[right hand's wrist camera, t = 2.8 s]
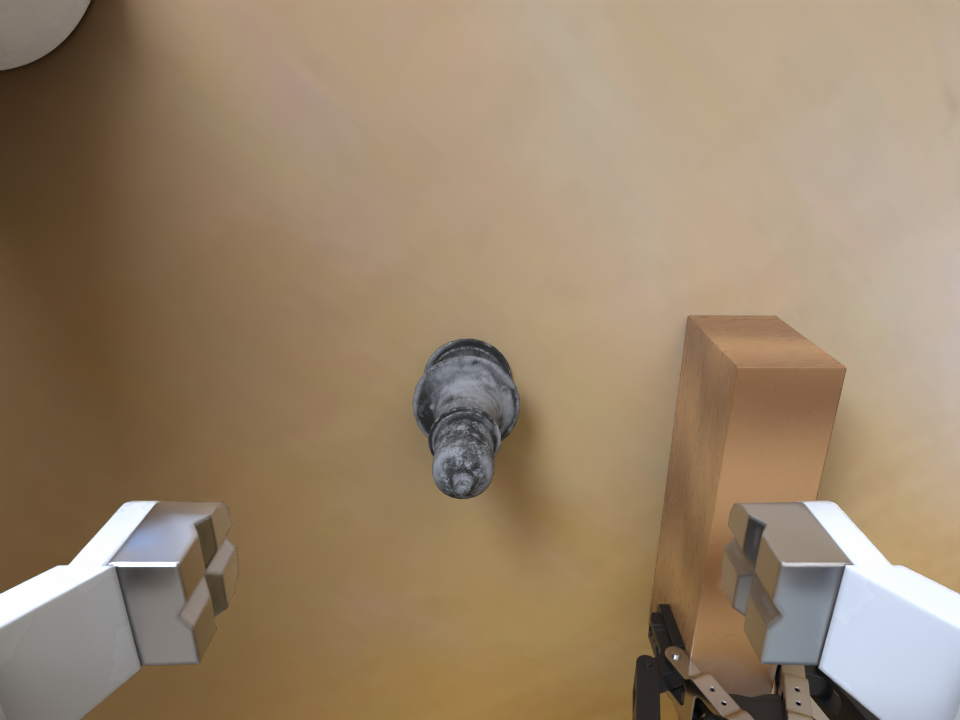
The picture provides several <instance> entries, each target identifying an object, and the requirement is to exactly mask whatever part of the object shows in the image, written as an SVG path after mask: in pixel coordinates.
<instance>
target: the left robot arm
mask: <svg viewBox="0 0 960 720" xmlns="http://www.w3.org/2000/svg"><path fill="white" fill-rule="evenodd" d="M648 637H649V640H650V642H651V646H652V649H653V653H654V656H655V658H653V657H651V656H648V655H642V656H640V657H638V658H637V662H636V669H635V677H634V685H633V716H632V720H660V693H663V692H666V694H667V695H668V696H669V698H670V699H671V700H672V702H673V703H674V704H675V705H676V707H677V708H678V709H679V711H680V713H681V717H682V720H815V719H814V718H813V717H812V711H811V701H810V696H811V697H812V699H813V700H814V701H815V702H816V703H817V705H818V706H819V707H820V708H821V710H822V711H823V712H824V713H825V714H826V716H827V717H828V718H829V719H830V720H880V719H879V718H877V717H876V716H875V715H874V714H873V713H871V712H870V711H869V710H868V709H867V708H865V707H864V706H863V705H862V704H861V703H859V702H858V701H857V700H856V699H855V698H853V697H852V696H851V695H850V694H849V693H847V692H846V691H845V690H844V689H843V688H841V687H840V686H839V685H838V684H837V683H836V682H834V681H833V680H832V679H831V678H830V677H828V676H827V675H826V674H825V673H824V672H822V671H821V670H820V669H819V666H812V665H778V666H777V671H776V675H775V679H774V694H764V695H760V696H756V697H747V696H742V695H737V694H728V693H727V692H726V691H725V690H724V689H723V687H722V686H721V685H720V684H719V683H718V682H717V681H716V679H715V678H714V677H713V676H712V675H711V674H710V673H709V672H705V673H703V672H702V671H701V670H700V669H699V668H698V667H697V665H696V664H695V663H694V662H693V661H692V660H691V658H690V657H689V656H688V655H687V654H686V653H685V651H684V650H685V644H684V642H683V639H682V636H681V634H680V631H679V628H678V626H677V623H676V620H675V618H674V615H673V612H672V610H671V607H670V605H669V604H658V605H657V610H656V612H652V613H651V618H650V625H649V633H648ZM834 691H835V692H836V693H837V694H838V695H837V694H836V693H835V692H834Z"/></svg>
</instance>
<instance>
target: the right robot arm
mask: <svg viewBox="0 0 960 720" xmlns="http://www.w3.org/2000/svg"><path fill="white" fill-rule="evenodd" d="M90 1H91V0H0V70H7V69H12V68H16V67H19V66H23V65H26V64H28V63H31V62H33V61H35V60H37V59H39V58H41V57H43V56H45V55H46V54H48V53H49V52H51V51H52V50H53V49H55V48H56V47H57V46H58V45H60V44H61V43H62V42H63V41H64V40H65V39H66V38H67V37H68V36H69V35H70V33H71V32H72V31H73V30H74V29H75V27H76V26H77V24H78V23H79V22H80V20H81V18H82V17H83V15H84V13H85V12H86V10H87V8H88V6H89V3H90ZM231 526H232V521H231V516H230V511H229V507H228V506H227V505H226V504H225V503H223V502H190V501H162V502H161V501H130V502H127V503H124V504H123V505H122V506H121V507H120V508H119V509H118V511H117V512H116V513H115V514H114V515H113V516H112V517H111V518H110V519H109V521H108V522H107V523H106V524H105V525H104V526H103V527H102V528H101V529H100V531H99V532H98V533H97V534H96V535H95V536H94V537H93V538H92V539H91V541H90V542H89V543H88V544H87V545H86V546H85V547H84V548H83V549H82V551H81V552H80V553H79V554H78V555H77V556H76V557H75V558H74V559H73V561H72V562H71V563H70V564H69V565H58V566H56V567H54V568H52V569H50V570H48V571H46V572H44V573H42V574H40V575H38V576H36V577H33V578H31V579H29V580H27V581H25V582H23V583H21V584H19V585H17V586H15V587H13V588H11V589H9V590H7V591H5V592H3V593H1V594H0V720H80V719H82V718H83V717H84V716H85V715H86V714H88V713H89V712H90V711H91V710H92V709H94V708H95V707H96V706H97V705H98V704H100V703H101V702H102V701H103V700H104V699H106V698H107V697H108V696H109V695H110V694H112V693H113V692H114V691H115V690H116V689H118V688H119V687H120V686H121V685H122V684H124V683H125V682H126V681H127V680H128V679H130V678H131V677H132V676H133V675H134V674H136V673H137V672H138V671H139V670H140V669H141V666H148V665H182V664H200V662H201V660H202V658H203V656H204V654H205V652H206V650H207V648H208V646H209V644H210V642H211V640H212V638H213V636H214V634H215V632H216V630H217V628H216V623H215V616H217V615H218V614H219V613H221V612H222V611H224V610H225V609H226V608H228V606H229V604H230V602H231V600H232V597H233V595H234V593H235V588H236V584H237V579H238V555H237V549H236V547H235V546H234V545H233V544H232V543H231V542H230V541H229V540H228V539H227V538H226V535H227V533H228V532H229V530H230V528H231ZM728 526H729V528H730V530H731V531H732V533H733V535H734V538H733V539H732V540H731V541H730V542H729V543H728V544H727V545H726V546H725V547H724V549H723V556H722V564H721V567H722V579H723V585H724V589H725V592H726V595H727V598H728V600H729V602H730V604H731V606H732V608H734V609H735V610H736V611H738V612H739V613H741V614H742V615H744V616H745V623H744V628H743V630H744V632H745V634H746V636H747V638H748V640H749V642H750V644H751V646H752V648H753V650H754V652H755V654H756V656H757V657H758V659H759V661H760V663H761V664H776V665H812V666H819V669H820V670H821V671H822V672H824V673H825V674H826V675H827V676H828V677H830V678H831V679H832V680H833V681H834V682H836V683H837V684H838V685H839V686H840V687H841V688H843V689H844V690H845V691H846V692H847V693H849V694H850V695H851V696H852V697H853V698H855V699H856V700H857V701H858V702H859V703H861V704H862V705H863V706H864V707H865V708H867V709H868V710H869V711H870V712H871V713H873V714H874V715H875V716H876V717H877V718H879V719H880V720H960V594H959V593H957V592H955V591H953V590H951V589H949V588H947V587H945V586H943V585H941V584H939V583H937V582H935V581H933V580H930V579H928V578H926V577H924V576H922V575H920V574H918V573H916V572H914V571H912V570H910V569H908V568H906V567H904V566H902V565H891V564H890V563H889V562H888V561H887V559H886V558H885V557H884V556H883V555H882V554H881V553H880V552H879V551H878V549H877V548H876V547H875V546H874V545H873V544H872V543H871V542H870V541H869V539H868V538H867V537H866V536H865V535H864V534H863V533H862V532H861V531H860V529H859V528H858V527H857V526H856V525H855V524H854V523H853V522H852V521H851V519H850V518H849V517H848V516H847V515H846V514H845V513H844V512H843V511H842V509H841V508H840V507H839V506H838V505H837V504H836V503H833V502H831V501H829V500H824V501H797V502H767V503H734V505H733V507H732V509H731V511H730V515H729V520H728Z"/></svg>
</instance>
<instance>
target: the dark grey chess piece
mask: <svg viewBox="0 0 960 720" xmlns="http://www.w3.org/2000/svg"><path fill="white" fill-rule="evenodd" d="M519 412H520V398H519V395H518V391H517V388H516V385H515V384H514V382H513V380H512V379H511V371H510V368H509V364H508V363H507V361H506V359H505V358H504V356H503V355H502V354H501V353H500V352H499V351H498V350H497V349H496V348H495V347H493V346H491V345H489V344H487V343H486V342H483V341H479V340H475V339H459V340H455V341H452V342H449V343H447V344H445V345H443V346H442V347H440V348H439V349H438V350H437V351H436V352H435V353H434V354H433V355H432V356H431V357H430V359H429V361H428V363H427V364H426V367H425V372H424V375H423V376H422V377H421V379H420V381H419V383H418V384H417V386H416V389H415V393H414V397H413V413H414V416H415V419H416V421H417V424H418V426H419V428H420V429H421V430H422V432H423V433H424V434H425V436H426V437H428V439H429V448H430V450H431V453H432V455H433V456H434V458H433V466H432V473H433V478H434V481H435V483H436V485H437V487H438V488H439V489H440V490H441V491H442V492H443V493H444V494H446V495H448V496H450V497H452V498H457V499H468V498H472V497H475V496H477V495H479V494H481V493H482V492H484V491H485V490H486V489H487V488H488V486H489V485H490V483H491V481H492V478H493V475H494V458H495V456H496V455H497V453H498V451H499V448H500V445H501V441H502V440H503V439H504V438H506V437H507V436H508V435H509V434H510V432H511V431H512V429H513V427H514V426H515V424H516V422H517V418H518V415H519Z"/></svg>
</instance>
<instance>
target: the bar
mask: <svg viewBox="0 0 960 720" xmlns="http://www.w3.org/2000/svg"><path fill="white" fill-rule="evenodd" d="M845 373H846V367H845V366H844V365H843V364H841V363H840V362H838V361H837V360H836V359H834V358H833V357H832V356H830V355H829V354H827V353H826V352H825V351H823V350H822V349H820V348H819V347H818V346H816V345H815V344H814V343H812V342H811V341H809V340H808V339H807V338H805V337H804V336H803V335H801V334H800V333H798V332H797V331H796V330H794V329H793V328H792V327H790V326H789V325H787V324H786V323H785V322H783V321H782V320H781V319H779V318H778V317H776V316H688V321H687V328H686V336H685V344H684V352H683V360H682V367H681V375H680V383H679V391H678V399H677V406H676V414H675V422H674V430H673V438H672V445H671V453H670V461H669V469H668V477H667V484H666V492H665V500H664V508H663V516H662V524H661V531H660V539H659V547H658V555H657V563H656V570H655V578H654V586H653V594H652V602H651V609H650V617H649V625H650V618H651V613H652V612H656V610H657V605H658V604H669V605H670V607H671V610H672V612H673V615H674V618H675V620H676V623H677V626H678V628H679V631H680V634H681V636H682V639H683V642H684V644H685V650H684V651H685V653H686V654H687V655H688V656H689V657H690V658H691V660H692V661H693V662H694V663H695V664H696V665H697V667H698V668H699V669H700V670H701V671H702V672H703V673H705V672H709V673H710V674H711V675H712V676H713V677H714V678H715V679H716V681H717V682H718V683H719V684H720V685H721V686H722V687H723V689H724V690H725V691H726V692H727V693H728V694H737V695H742V696H747V697H756V696H760V695H764V694H771V692H772V688H773V683H774V679H775V675H776V671H777V666H778V665H776V664H761V663H760V661H759V659H758V657H757V656H756V654H755V652H754V650H753V648H752V646H751V644H750V642H749V640H748V638H747V636H746V634H745V632H744V630H743V628H744V623H745V616H744V615H742V614H741V613H739V612H738V611H736V610H735V609H734V608H732V606H731V604H730V602H729V600H728V598H727V595H726V592H725V589H724V585H723V579H722V567H721V564H722V556H723V549H724V547H725V546H726V545H727V544H728V543H729V542H730V541H731V540H732V539H733V538H734V535H733V533H732V531H731V530H730V528H729V526H728V520H729V515H730V511H731V509H732V507H733V505H734V503H767V502H797V501H816V498H817V494H818V489H819V485H820V481H821V476H822V472H823V468H824V463H825V459H826V455H827V450H828V446H829V442H830V438H831V433H832V429H833V425H834V420H835V416H836V412H837V407H838V403H839V399H840V394H841V390H842V386H843V381H844V377H845ZM674 705H675V704H674ZM675 708H676V711H677V714H678V718H679V720H682V717H681V713H680V711H679V709H678V708H677V707H676V705H675Z"/></svg>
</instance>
